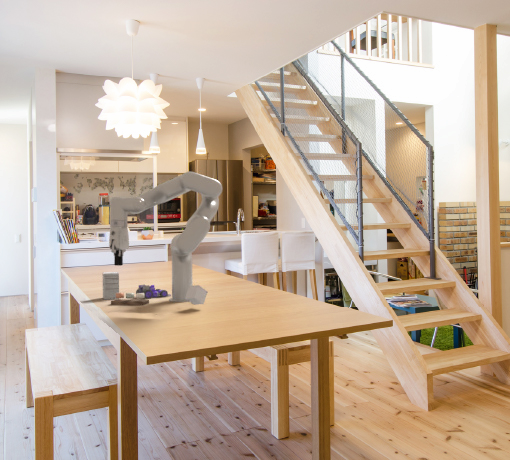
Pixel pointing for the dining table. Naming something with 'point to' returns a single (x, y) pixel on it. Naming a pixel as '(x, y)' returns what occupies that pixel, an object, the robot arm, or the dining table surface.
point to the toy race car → (151, 292)
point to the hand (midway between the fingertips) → (118, 265)
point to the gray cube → (196, 294)
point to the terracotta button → (119, 295)
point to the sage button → (129, 295)
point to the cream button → (140, 295)
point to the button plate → (129, 302)
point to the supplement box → (110, 285)
